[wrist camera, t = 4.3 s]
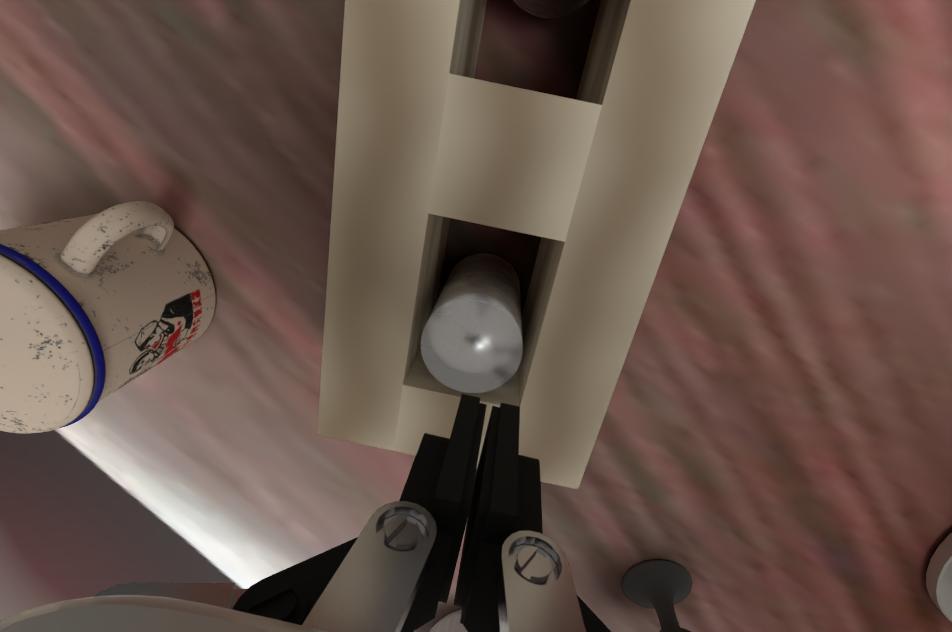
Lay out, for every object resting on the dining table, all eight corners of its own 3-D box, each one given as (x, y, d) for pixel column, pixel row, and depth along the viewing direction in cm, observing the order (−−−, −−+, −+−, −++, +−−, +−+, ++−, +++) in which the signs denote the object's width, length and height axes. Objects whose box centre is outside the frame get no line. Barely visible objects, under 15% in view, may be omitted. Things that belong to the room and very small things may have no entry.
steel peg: (527, 261, 23) (533, 312, 16) (511, 329, 25) (510, 402, 18) (453, 246, 23) (428, 291, 16) (441, 314, 25) (414, 381, 18)
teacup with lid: (174, 375, 29) (-27, 514, 18) (50, 277, 27) (-258, 368, 16) (280, 253, 25) (107, 338, 14) (145, 130, 23) (-172, 121, 13)
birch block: (731, -158, 17) (893, -379, 10) (560, 394, 27) (577, 489, 20) (434, -219, 17) (376, -485, 10) (370, 354, 27) (317, 434, 20)
